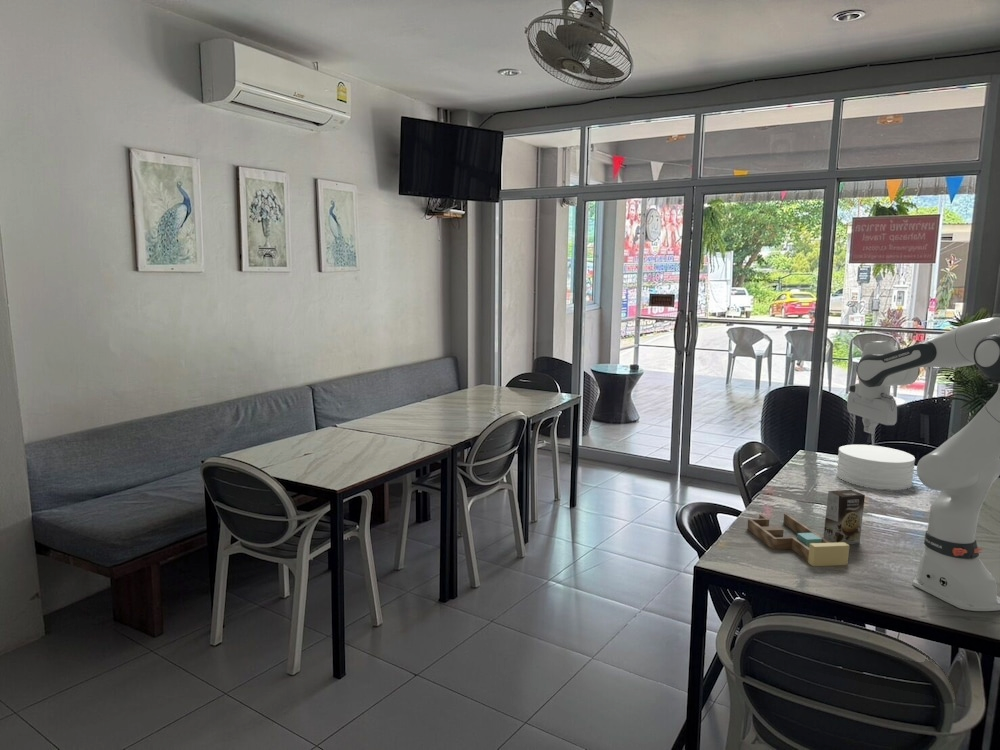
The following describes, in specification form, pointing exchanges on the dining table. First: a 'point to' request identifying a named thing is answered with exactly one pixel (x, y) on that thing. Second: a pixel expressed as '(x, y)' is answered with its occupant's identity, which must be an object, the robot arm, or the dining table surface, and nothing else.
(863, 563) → the dining table surface
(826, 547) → the bumper
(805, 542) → the block
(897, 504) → the dining table surface
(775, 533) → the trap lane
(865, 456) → the plate stack
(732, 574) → the dining table surface
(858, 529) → the coffee box
